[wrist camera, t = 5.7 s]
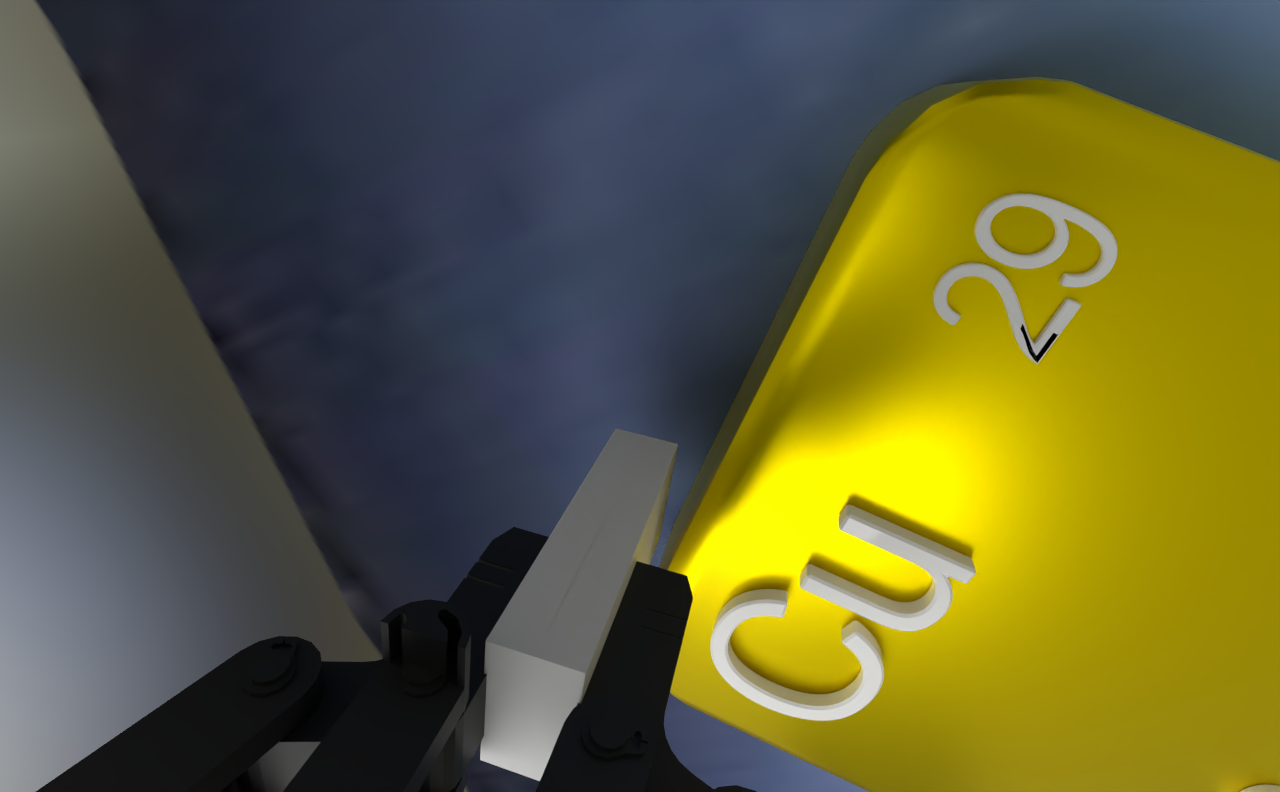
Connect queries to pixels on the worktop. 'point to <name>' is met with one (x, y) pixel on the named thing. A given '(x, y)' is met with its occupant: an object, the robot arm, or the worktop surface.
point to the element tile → (1008, 463)
